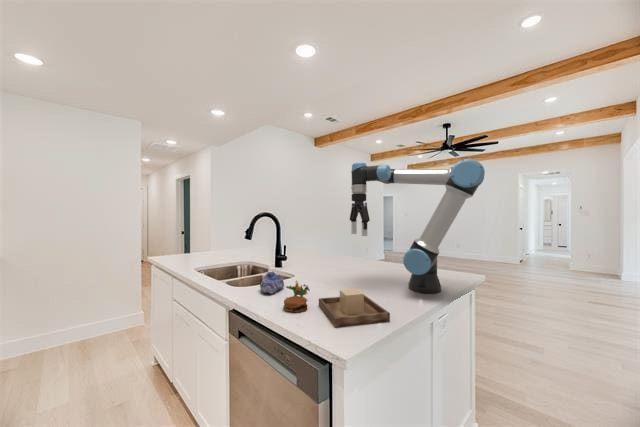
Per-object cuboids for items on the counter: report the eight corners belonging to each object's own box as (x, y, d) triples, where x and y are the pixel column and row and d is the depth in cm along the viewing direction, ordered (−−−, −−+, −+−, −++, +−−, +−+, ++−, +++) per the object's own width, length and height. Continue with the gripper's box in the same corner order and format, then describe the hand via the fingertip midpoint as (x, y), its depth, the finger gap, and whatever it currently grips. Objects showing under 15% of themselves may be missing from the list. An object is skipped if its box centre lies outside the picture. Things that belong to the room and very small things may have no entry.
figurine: (308, 301, 116) (308, 282, 116) (283, 298, 120) (283, 280, 120) (311, 299, 119) (311, 280, 119) (286, 296, 123) (286, 278, 123)
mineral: (267, 269, 139) (284, 269, 136) (269, 287, 140) (286, 287, 137) (252, 279, 125) (271, 279, 122) (254, 299, 126) (274, 299, 123)
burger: (280, 307, 110) (280, 295, 110) (302, 304, 114) (302, 292, 114) (287, 315, 101) (287, 303, 101) (311, 312, 105) (311, 299, 105)
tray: (363, 301, 116) (363, 294, 116) (389, 321, 95) (389, 313, 95) (318, 305, 111) (318, 298, 111) (335, 327, 90) (335, 318, 90)
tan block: (356, 306, 107) (356, 288, 107) (363, 312, 100) (363, 293, 100) (339, 308, 105) (339, 290, 105) (345, 314, 98) (345, 295, 98)
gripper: (343, 194, 150) (343, 233, 150) (362, 191, 126) (362, 237, 126) (356, 195, 152) (356, 233, 152) (376, 191, 128) (376, 236, 128)
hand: (358, 235), depth 139 cm, fingers open, 13 cm apart
